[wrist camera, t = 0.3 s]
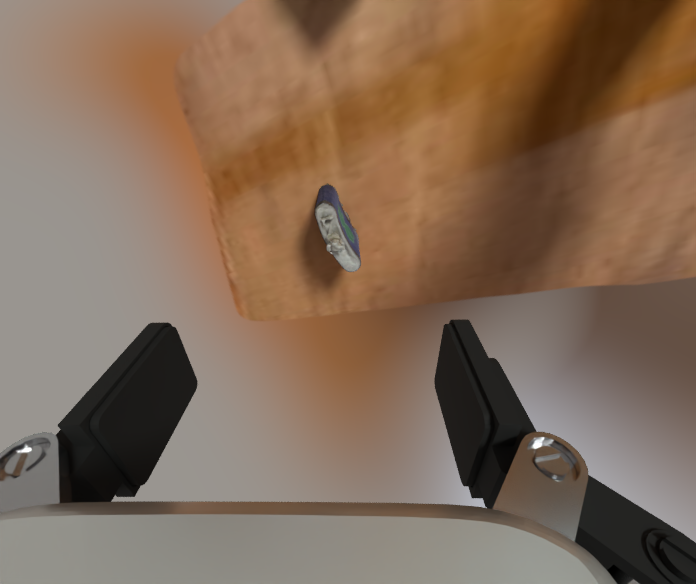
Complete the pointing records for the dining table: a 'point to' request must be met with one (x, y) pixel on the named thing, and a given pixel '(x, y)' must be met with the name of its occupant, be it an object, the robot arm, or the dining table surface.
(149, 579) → the robot arm
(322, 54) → the dining table surface
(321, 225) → the flask
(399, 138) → the dining table surface
